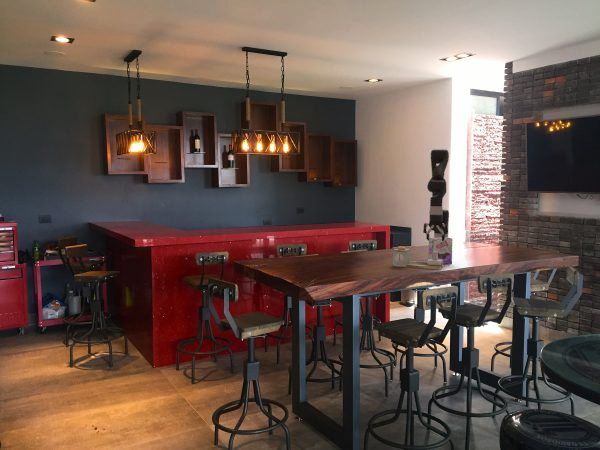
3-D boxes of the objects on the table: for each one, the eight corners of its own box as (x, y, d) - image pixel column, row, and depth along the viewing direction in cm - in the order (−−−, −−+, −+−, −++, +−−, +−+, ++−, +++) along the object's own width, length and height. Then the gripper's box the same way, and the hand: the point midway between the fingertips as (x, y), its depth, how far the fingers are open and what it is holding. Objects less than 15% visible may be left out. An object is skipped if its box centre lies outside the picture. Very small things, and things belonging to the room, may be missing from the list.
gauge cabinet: (397, 263, 320) (397, 248, 320) (409, 264, 317) (410, 248, 316) (392, 266, 311) (393, 250, 310) (405, 267, 307) (405, 250, 307)
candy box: (432, 264, 317) (432, 238, 316) (427, 263, 323) (428, 237, 321) (452, 263, 320) (452, 238, 318) (447, 262, 325) (448, 237, 324)
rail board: (409, 264, 317) (410, 259, 317) (443, 267, 308) (443, 262, 307) (405, 267, 308) (405, 262, 308) (439, 269, 299) (440, 264, 298)
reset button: (399, 252, 316) (399, 246, 316) (406, 253, 314) (406, 246, 314) (397, 253, 312) (397, 247, 312) (404, 254, 311) (404, 247, 310)
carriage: (429, 263, 310) (429, 250, 309) (443, 264, 307) (443, 251, 306) (426, 264, 303) (427, 252, 302) (440, 265, 299) (440, 252, 299)
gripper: (449, 213, 302) (448, 240, 304) (425, 213, 309) (424, 239, 310) (447, 214, 296) (446, 241, 297) (422, 213, 302) (422, 240, 303)
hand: (435, 240), depth 304 cm, fingers open, 8 cm apart
